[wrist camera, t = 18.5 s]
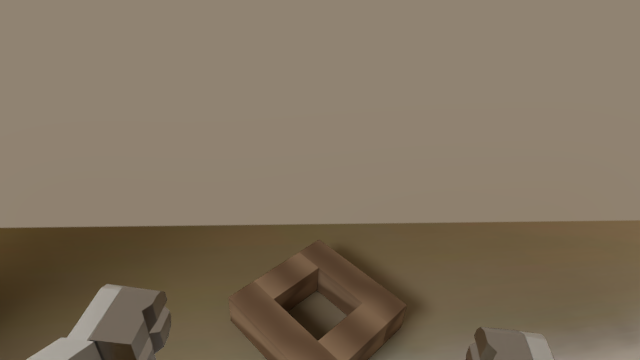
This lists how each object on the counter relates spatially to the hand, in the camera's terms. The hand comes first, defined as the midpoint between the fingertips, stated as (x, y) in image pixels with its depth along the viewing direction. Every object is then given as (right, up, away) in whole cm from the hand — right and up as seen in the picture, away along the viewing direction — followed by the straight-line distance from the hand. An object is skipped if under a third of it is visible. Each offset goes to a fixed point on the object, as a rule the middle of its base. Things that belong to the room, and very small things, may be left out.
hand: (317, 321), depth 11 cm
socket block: (0, -13, +37) cm, 40 cm away
